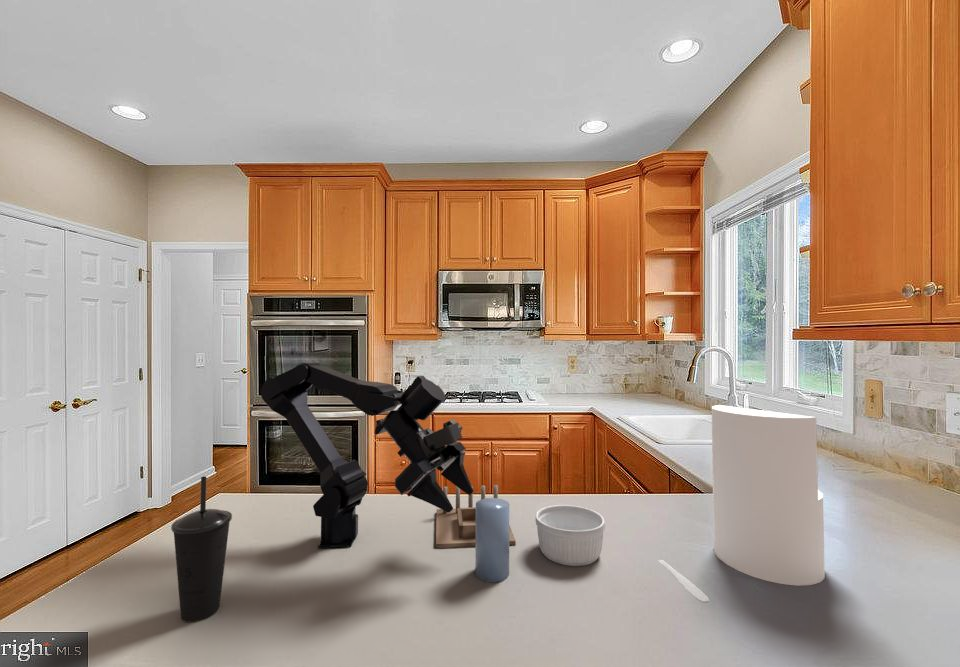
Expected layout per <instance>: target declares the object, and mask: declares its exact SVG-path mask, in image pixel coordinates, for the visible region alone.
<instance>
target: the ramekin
mask: <svg viewBox="0 0 960 667" xmlns="http://www.w3.org/2000/svg"><path fill="white" fill-rule="evenodd" d="M535 525H536V528H537V529H536V530H537V539H538V544H539V548H540V550H541V552H542V553H543V555H544V556H545V557H546V558H547V559H549V560H550V561H552V562H554V563H556V564H560V565H563V566H569V567H581V566H582V567H583V566H588V565H591V564H593V563H594V562H596V561H597V560H598V559H599V557H600V556H601V554H602V550H603V540H604V531H605V530H606V523H605V518H604V517H603V516H602V515H601V513H599V512H598V511H595V510H593V509H590V508H586V507H583V506H578V505H571V504H556V505H555V504H554V505H549V506H545V507H542V508H541V509H539V510H538V511H537V512H536V513H535Z"/></svg>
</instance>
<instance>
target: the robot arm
mask: <svg viewBox="0 0 960 667" xmlns="http://www.w3.org/2000/svg"><path fill="white" fill-rule="evenodd" d="M312 386H315V387H318V388H320V389H323V390H325V391H327V392H331V393H332V394H335V395H337V396H340V397H343V398H345V399H347V400H349V401H350V402H351V403H352V404H353V406H354V407H355V408H356V409H358V410H359V411H361V412H363V413H364V414H366V415H367V416H371V417H373V416H378V415H382V414H385V413H387V414H386V416H385V417H384V418H381V419H380V418H379V419H376V420H375V423H376V424H375V429H374V434H375V435H380V434H383V433H387V434H388V435H389V437H390V438H391V439H392V440H393V442H394V443H395V445H396V446H397V447H398V449H399V450H398V451H397V454H398V456H399V457H400V458H402V457H404V456H405V457H406V458H407V460H408V461H409V462H410V463H409V464H408V465H407V467H405V468H404V469H403V470H402V471H401V472H400V474H399V475H397V477H396V478H395V479H394V488H395V489H396V490H397V491H398V493H399V494H400V495H401V496H403V495H404V494H406V493H407V494H406V495H407V496H408V497H413V498H416V499H419V500H421V501H423V502H426V503H428V504H430V505H432V506H435V507H436V508H438V509H442V510H444V511H446V512H450V511H452V510H453V509H454V507H453V505H452V502H450V500H449V498H448V496H447V497H446V495H445V494H444V492H443V488H442V487H441V486H440V485H439V483H438V481H437V470H438V471H440V472H441V473H440V476H442V477H443V478H445V479H446V480H448V481H449V482H450V483H451V484H452V485H454V486H455V487H456V486H457V487H458V488H460V491H462V492H464V493H466V494H467V495H471V494H472V493H474V487H473V488H472V486H473V485H472V483H471V482H470V481H471V480H469V477H468V474H467V472H466V469H465V466H464V459H465V456H466V449H467V448H466V447H465V446H464V444H462V442H461V441H460V440H462V439H464V438H463V435H462V430H463V427H462V425H460V424H459V422H458V421H457V422H456V420H454V419H450V420H448V421H446V422H444V423H443V424H442V425H443V426H442V428H441V429H438V430H436V431H433V430H432V428H429V427H428V428H425V429H424V427H423V426H422V425H421V424H420V423H419V420H421V421H426V420H427V419H428V418H429V417H430V416H431V415H432V414H433V413H434V412H435V410H437V409H438V408H439V406H440V405H441V404H442V403H443V402H444V401H445V400H446V394H445V392H444V390H443V389H442V388H441V386H439V385H437V384H436V383H435V382H433V381H431V380H429V379H428V378H426V377H425V376H424V375H417V376H416V377H415V379H413V382H412V383H411V384H410V385H409V386H408V387H407V389H406V390H405V391H404V390H398V388H397V387H396V386H395V385H394V384H392V383H388V382H387V383H385V382H380V381H371V380H369V381H367V380H361V379H359V378H356V377H353V376H351V375H349V374H345V373H343V372H340V371H337V370H335V369H332V368H330V367H327V366H324V365H322V364H321V363H319V362H315V361H314V362H313V361H312V362H302V363H301V362H300V363H299V364H298V365H296V366H295V367H293V368H291V369H289V370H287V371H285V372H282V373H280V374H278V375H276V376H274V377H270V378H267V379H266V380H265V381H264V382H263V383H262V386H261V388H260V396H261V399H262V401H263V402H264V404H266V405H267V407H268V408H270V409H271V411H273V412H274V413H276V414H277V415H280V416H282V417H283V418H285V420H286V421H287V422H288V424H289V426H290V427H291V429H292V430H293V432H294V433H295V435H296V438H298V440H299V441H300V443H301V444H302V446H303V448H304V449H305V450H306V453H307V454H308V456H309V457H310V459H311V461H312V462H313V464H314V465H315V467H316V468H317V470H318V472H319V474H320V478H319V481H320V483H319V484H320V491H321V492H322V496H321V497H320V498H318V499H317V500H316V501H315V503H314V504H313V506H312V507H313V511H314V515H315V516H316V517H320V541H319V542H318V545H317V548H321V549H322V548H327V549H328V548H344V547H345V548H347V547H348V548H349V547H351V546H352V545H353V543H354V542H355V540H356V539H357V537H358V535H359V534H358V533H359V515H358V513H357V512H356V507H357V506H359V505H361V504H362V501H363V498H364V497H365V496H366V494H367V491H368V486H369V483H368V479H367V478H366V476H367V473H366V472H365V471H364V470H363V469H362V468H361V466H360V464H359V462H358V461H357V460H356V459H353V460H349V461H347V460H345V459H344V458H343V457H342V456H341V455H340V453H339V451H338V450H337V449H336V447H335V446H334V444H333V443H332V441H331V440H330V438H329V436H328V435H327V433H326V432H325V430H324V429H323V427H322V426H321V424H320V423H319V421H318V419H317V418H316V416H315V415H314V413H313V412H312V411H311V409H310V407H309V406H308V390H309V389H311V388H312ZM398 406H399V407H398ZM397 407H398V408H397ZM396 408H397V409H396ZM395 409H396V410H395Z"/></svg>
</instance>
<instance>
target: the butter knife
mask: <svg viewBox="0 0 960 667" xmlns="http://www.w3.org/2000/svg"><path fill="white" fill-rule="evenodd" d="M657 561H658V562H659V563H660V564H661V565H662V566H663V567H664V568H665V569H666V570H668V572H669V573H670V574H672V576H673V577H674V578H675V579H676V580H677V581H678V582H679V584H680V585H681V586H682V587H683V588H685V589H686V591H687V592H688V593H689V594H691V596H692V597H694V598H695V599H696V600H698V601H699V602H701V603H709V602H710V600H709V597H708V596H707V595H706V594H705V593H704V592H703V591H702V590H701V589H700V588H699V587H697V586H696V584H694V583H693V582H692V581H690V579H687V578H686V577H685V576H684V575H683V574H681V573H680V572H679V571H678V570H676V569H675V568H673V567H672V565H670V564H669V563H668V562H666V561H665V560H663V559H658V560H657ZM685 589H684V590H685Z"/></svg>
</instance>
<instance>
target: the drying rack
mask: <svg viewBox="0 0 960 667" xmlns="http://www.w3.org/2000/svg"><path fill="white" fill-rule="evenodd" d="M471 486H472V488H473V489H474V487H473V485H471ZM442 490H443V492H444V494H445V495H446V497H447V498H448V486H443V487H442ZM473 493H474V492H473ZM473 493H472V494H471V495H468V494H467V495H468V506H467V507H461V489H460V488H458V487H457V486H456V485H455V508H453V510H452V511H450V512H446V511H444V510H442V509H440V508H438V509H436V516H435V517H436V518H435V519H436V523H435V524H436V526H435V548H436V549H445V548H447V549H449V548H450V549H451V548H452V549H453V548H471V547H472V548H473V547H474V548H475V545H476V506H473V505H474V503H473V501H474V499H473V497H474V494H473ZM493 498H498V499H499V486H498V485H497V484H496V485H495V484H493ZM481 499H486V485H481V486H480V500H481ZM516 542H517V541H516V538H515V536H514V532H513V531H512V528H511V525H510V524H509V546H516V545H517V544H516Z"/></svg>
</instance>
